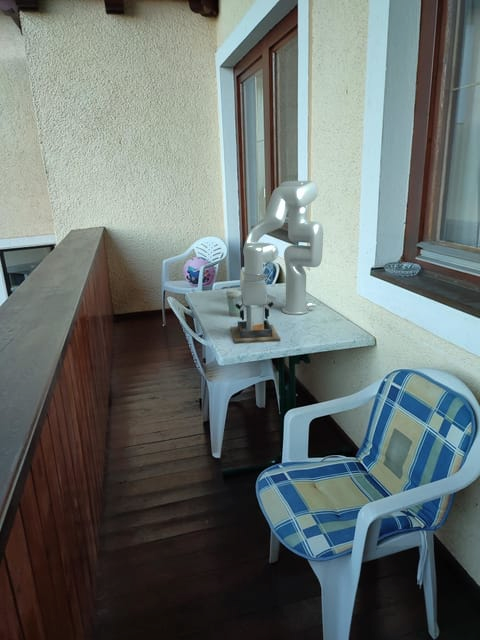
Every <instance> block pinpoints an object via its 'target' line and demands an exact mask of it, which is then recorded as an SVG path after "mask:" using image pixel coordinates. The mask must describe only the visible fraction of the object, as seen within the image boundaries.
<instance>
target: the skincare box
mask: <svg viewBox="0 0 480 640" xmlns="http://www.w3.org/2000/svg"><path fill="white" fill-rule="evenodd" d="M245 309H246V310H245V311H246V312H245V313H246V317H245V318H246V320H245V321H246V328H247V330H262V329H264V320H265V306H264V305H261V306H246V307H245Z"/></svg>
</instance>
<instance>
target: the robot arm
mask: <svg viewBox="0 0 480 640" xmlns="http://www.w3.org/2000/svg"><path fill="white" fill-rule="evenodd" d="M318 194H319V187H318V184H317V183H316V182H315V181H313V180H288V181H287V180H286V181H283V182H282V183H280V184H279V186H278V187H276V188H274V190H273V191H272V194H271V196H270V199H269V202H268V204H267V208H266V211H265V214H264V217H263V218H262V219H261V220H260V221H258V222H257V223H256V224H255V225H254V226H253V227H252V228H251V229H250V230H249V232H248V234H247V236H246V239H245V242H244V243H243V244H244V245H243V250H242V252H243V262H244V263H243V265H244V266H243V267H244V279H245V280H243V281H242V289H241V295H240V296H238V297H237V298H235V299H233V302H234V304H235V306H236V307H237V308H238V309H239V310H240V316H239V318H240V319H241V320H242V321H245V311H244V310H245V309H246V307H245V306H261V305H264V319H265V320H268V319H269V317H270V310H271V309H270V308H272V307H273V306H274V303H275V302H276V299H277V298H276V297H275V296H273V295H271V294H268V293H267V292H268V291H267V284H266V278H268V274H267V273H264V263H272V262H274V261H276V260H277V258H278V256H279V249H278V247H277V245H275V244H273V243H268V242H259V240H260V239H261V238H262V237H263V236H264V235H267V234H269V233H271V232H273V231H275V230H278V229H281V228H282V227H283V226H284V224H285V221H286V218H287V215H288V223H287V224H288V226H287V233H288V234H287V237H288V239H289V240H290V241H291V242H294V243H304V244H305V243H307V244H309V245H300V244H292V245H291V244H290V245H288V246H286V248H285V250H284V252H283V257H284V265H285V306H283V307H282V309H281V310H282V312H283V313H284V314H288V315H293V316H294V315H296V316H299V315H305V314H308V312H309V311H310V310H309V308H316V306H317V305H316V303H315V302H307V272H306V271H305V268H318V267H319V266H320V265H321V263H322V259H323V246H324V228H323V225H322V223H320V222H318V221H313V220H312V221H309V220H308V212H309V211H308V207H307V206H308V205H309V204H311V203H312V202H314V201H315V200H316V199H317V197H318ZM304 267H305V268H304ZM268 299H270V301H269V303H268ZM239 300H241V302H242V304H241V305H239V304H238V303H237V301H239Z"/></svg>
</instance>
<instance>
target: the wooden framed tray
mask: <svg viewBox="0 0 480 640" xmlns="http://www.w3.org/2000/svg"><path fill="white" fill-rule="evenodd" d="M230 331H231V334H232V338H233V342H234V344H235V345H236V344H251V343H252V344H253V343H267V342H268V343H269V342H270V343H271V342H281V337H280V335H279V334H278V332H277V330H276V328H275V326H274V325H273V324H270V322H269V321H268V319H264V329H262V330H247V328H246V320H242V321H237V326H236V325H235V326H230Z"/></svg>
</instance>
